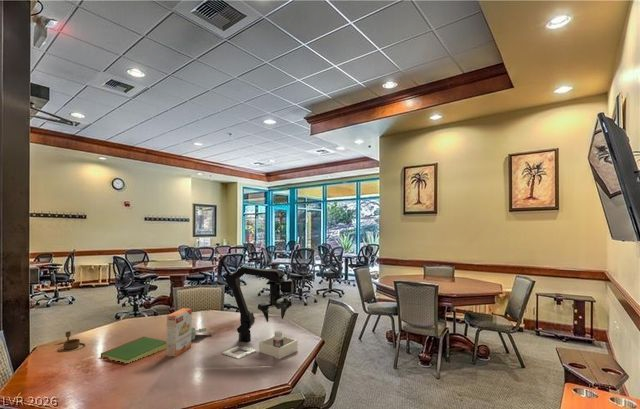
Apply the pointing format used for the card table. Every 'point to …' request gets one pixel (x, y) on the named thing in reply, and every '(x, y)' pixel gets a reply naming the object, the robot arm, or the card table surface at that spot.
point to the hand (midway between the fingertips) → (274, 320)
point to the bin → (281, 352)
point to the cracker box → (178, 332)
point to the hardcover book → (135, 350)
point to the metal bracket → (198, 332)
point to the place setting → (71, 343)
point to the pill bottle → (278, 339)
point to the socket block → (240, 347)
